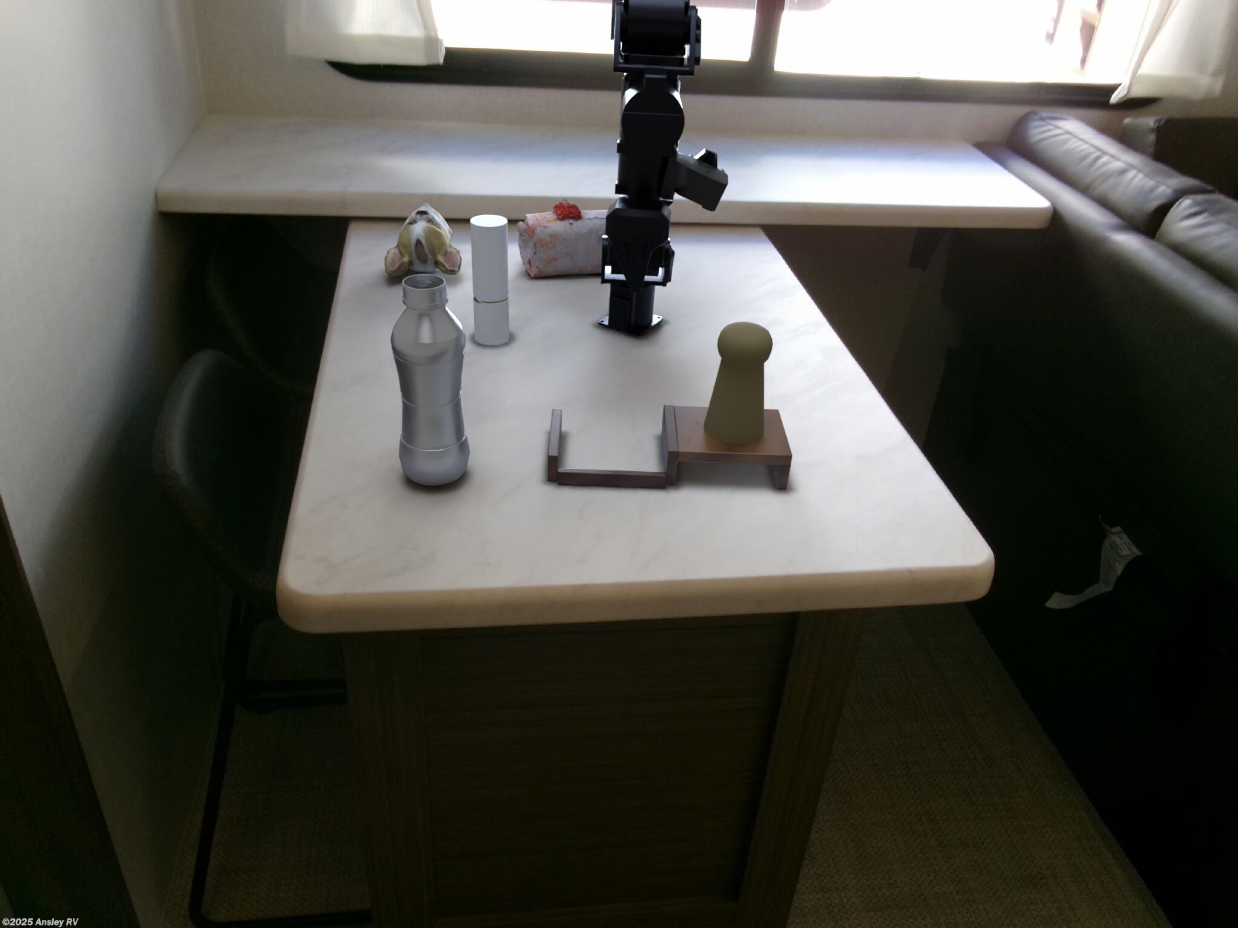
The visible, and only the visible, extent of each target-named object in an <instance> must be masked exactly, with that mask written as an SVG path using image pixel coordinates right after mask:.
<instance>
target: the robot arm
mask: <svg viewBox="0 0 1238 928" xmlns="http://www.w3.org/2000/svg"><path fill="white" fill-rule="evenodd" d="M610 21H611V23H610V41H613V58H612V59H613V61H612V73H615V74H623V77H622V78H621V89H620V90H621V91H620V110H619V112H620V114H619V133H618V134H619V135H618V139H617V142H616V154H617V155H618V156H617V175H616V176H617V178H616V181H615V183H614V195H618V198H616V200H615V201H613V202H612V203H611V204H609V207H608V209H607V210H608V212H607V215H606V228H605V235H607V236H603V237H602V261H601V273H600V285H605V284H609V296H608V314H606V315H605V316H603V317H602V318H600V319H598V320H597V325H598V326H600V327H603V328H606V329H610V330H613V331H617V332H619V333H623V334H627V335H630V336H634V337H637V338H642V337H644V336H645V335H646V334H647V333H649V332H650V331H652V330H653V329H655V327H657V326H658V325H660V324H661V323H663V322H664V317H663V316H662V315H661V316H660V315H657V314H654V308H655V294H656V293H655V292H656V287H662V288H667V284H669V283H672V278H673V267H674V263H675V262H674V261H675V255H676V250H675V249H673V247H672V244H671V238H670V230H671V219H672V209H670V206H671V205H672V204H673V203H674V200H675V195H678V196H680V197H682V198H684V199H686V200H688V201H690V202H693V203H695V204H698V205H700V206H701V208H702V209H704V210H706V211H709V212H713V213H714V212H716V210H717V208H718V206H719V203H720V201H721V199H722V197H723V195H724V193H725V191H726V189H727V187H728V185H729V174H727V173H726V172H725V169H723V168H719V166H718V165H719V162H718V152H715V151H713V150H710V149H709V148H706V147H705V148H703V149H702V150H701V151H700V152H698V154H696V155H695V156H694V155H693V154H689V155H687V154H685V153H683V152H681V151H679V147H680V146H679V145H680V139H681V137H682V135H683V133H684V129H685V125H686V124H685V123H686V117H685V112H684V108H683V104H682V101H681V96H680V89H681V81H680V80H679V77H694V78H695V67H700V64H701V60H702V18H701V17H700V16H699V8H697V5H696V4H695V5H694V4H691V0H611V19H610ZM685 56H686V63H685ZM605 265H611V266H605Z"/></svg>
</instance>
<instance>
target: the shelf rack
mask: <svg viewBox="0 0 1238 928" xmlns="http://www.w3.org/2000/svg"><path fill="white" fill-rule="evenodd" d="M708 407H709V406H701V405H677V404H676V405H675V404H674V405H673V404H664V405H663V409H662V420H661V433H660V443H661V453H662V454H661V456H662V462H663V463H662V466H663V471H649V470H648V471H647V470H619V469H594V468H593V469H590V468H567V467H565V468H564V467H560V456H561V447H562V446H561V445H562V444H561V443H562V435H563V433H562V432H563V431H562V428H563V427H562V426H563V421H562V420H563V409H562V408H552V409H551V417H550V420H551V421H550V428H549V439H548V448H547V477H546V478H547V481H548V482H557V483H556V484H557V485H563V486H564V485H566V486H590V487H591V486H594V487H618V488H619V487H622V488H645V489H646V488H647V489H652V488H653V489H666V486H676V482H677V481H676V480H677V472H678V471H677V470H678V462H682V463H683V462H685V463H686V462H687V463H712V464H713V463H714V464H715V463H716V464H738V465H739V464H743V465H768V466H769V465H770V468H771V473H772V476H773V479H774V483H775V484H774V485H775V487H776V489H777V490H787V489H788V483H789V479H790V474H791V473H790V472H791V465H792V461H793V452H792V449H791V446H790V442H789V438H788V436H787V432H786V430H785V427H784V423H783V419H782V416H781V413H780V410H779V409H778V408H764V433H763V436H762V437H761V438H760V439H759V440H757V441H755V442H752V443H747V444H731V443H725V442H722V441H719V440H716V439H714V438H713V437H711V436H710V435H708V434H707V432H706V431H705V429H704V422H705V418H706V414H707V411H708Z"/></svg>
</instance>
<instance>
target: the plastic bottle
mask: <svg viewBox="0 0 1238 928" xmlns="http://www.w3.org/2000/svg"><path fill="white" fill-rule="evenodd" d="M401 289H402V296H401V303H402V304H403V305H404V306H405V308H404V310H403V311H402V313H400V315H399V316H398V318H397V320H396V322H395V323H394V325H393V327H392V331H391V334H390V345H391V350H392V355H393V356H392V357H393V359H394V364H395V368H396V372H397V376H398V383H399V390H400V398H401V406H402V407H401V433H400V436H399V437H400V438H399V443H398V444H399V445H398V460H399V462H400V467H401V469H402V472H403V473H404V474H405V475H406V476H407V477H408V479H410V480H411V481H413V482H415V483H416V484H420V485H423V486H433V487H434V486H442V485H447V484H451V483H453V482H455V481H457V480H458V479H460V477H462V476H463V474H464V473H465V472H466V470H467V468H468V466H469V461H470V456H471V450H470V444H469V439H468V435H467V432H466V429H465V422H464V415H463V407H462V406H463V405H462V385H463V384H462V381H463V380H462V379H463V378H462V376H463V368H464V359H465V352H466V341H467V340H466V339H467V337H466V333H465V329H464V327H463V325H462V324H461V322H460V321H459V320H458V318H457V317H456V315H455V314H454V313H453V312H452V311H451V310H450V309H449V308H448V307H447V306H446V305H448V303H449V294H448V293H447V282H446V280H445V278H444V277H442V276H440V275H437V274H431V273H419V274H412V275H408V276H406V277H405V278H403V280H402V282H401Z"/></svg>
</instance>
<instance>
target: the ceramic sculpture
mask: <svg viewBox="0 0 1238 928" xmlns="http://www.w3.org/2000/svg"><path fill="white" fill-rule="evenodd" d="M452 239H453V229H451V228H450V227H449V225H448V223H447V221H446V220H445V218H444V217H443V216H442V215H441V214H440V213H439V212H438V211H437V210H435V209H434V208H433V207H431V206H430V205H429V204H428V203H427V202H424V203H423V204H422V205H421V206H420V207H419V208H417V209H416V210H414V211H413V212H412V213H411V214H410V215H409V216H408V217H407V218H406V219H405V222H404V224H403V226H402V228H401V229H400V231H399V234H398V239H397V242H396V245H395V246H393V247H391V248H389V249H388V250H387V252H386V254H385V256H384V260H383V261H384V272H385V274H386V275H387V276H401V275H403V274H405V273H406V272H408V270H409V269H410V270H411V271H413V272H417V273H433V272H436V271H438V270H439V272H440V273H442V274H445V275H447V276H456V275H458V274H459V273H460V271H461V268H462V262H463V261H462V260H463V258H462V255H461V252H460V251H461V250H459V249H458V248H456V247H455V246H453V245H452Z"/></svg>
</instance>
